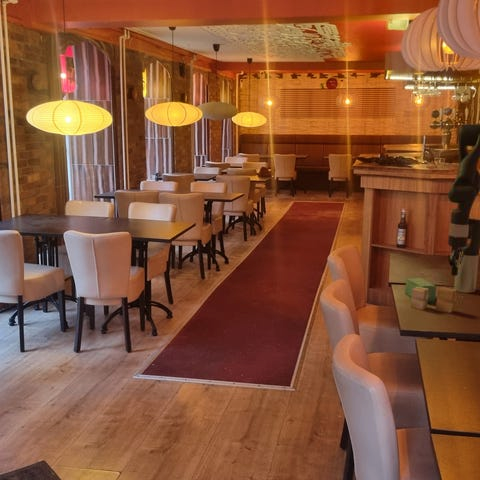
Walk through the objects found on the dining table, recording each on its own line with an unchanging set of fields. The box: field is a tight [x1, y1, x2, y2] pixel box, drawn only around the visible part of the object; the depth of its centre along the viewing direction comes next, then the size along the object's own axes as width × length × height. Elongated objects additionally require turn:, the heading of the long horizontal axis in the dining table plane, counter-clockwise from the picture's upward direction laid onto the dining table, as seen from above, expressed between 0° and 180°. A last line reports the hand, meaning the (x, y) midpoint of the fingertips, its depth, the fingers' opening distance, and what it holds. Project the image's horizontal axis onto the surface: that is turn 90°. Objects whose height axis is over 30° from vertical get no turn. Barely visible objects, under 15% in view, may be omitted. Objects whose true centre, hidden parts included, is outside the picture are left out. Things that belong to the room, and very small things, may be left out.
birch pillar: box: [410, 287, 429, 311], centre depth 253 cm, size 5×5×8 cm
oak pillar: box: [435, 286, 457, 314], centre depth 249 cm, size 4×6×9 cm
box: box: [404, 277, 437, 303], centre depth 266 cm, size 7×14×8 cm, turn 13°
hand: (454, 275), depth 253 cm, fingers closed
